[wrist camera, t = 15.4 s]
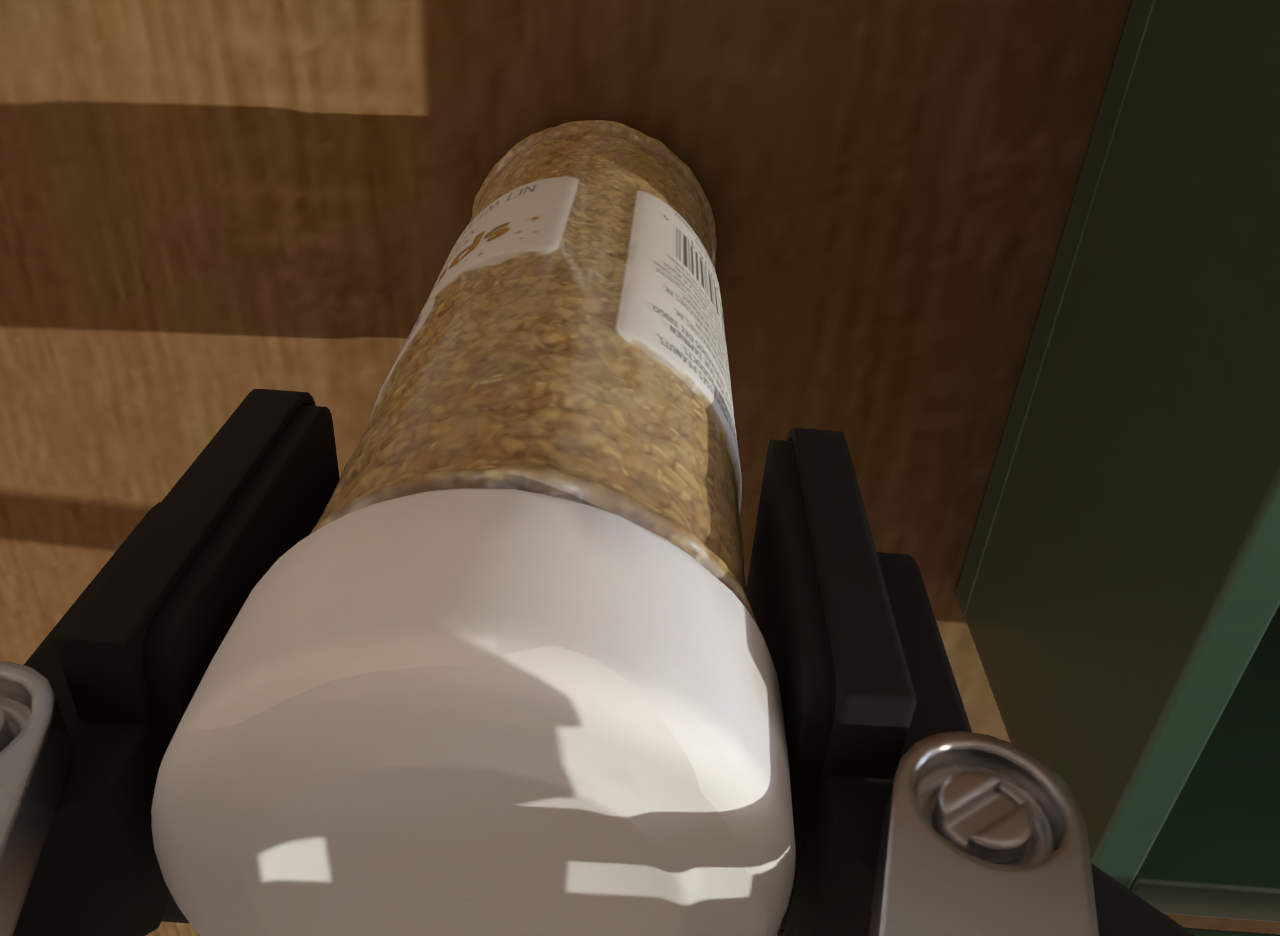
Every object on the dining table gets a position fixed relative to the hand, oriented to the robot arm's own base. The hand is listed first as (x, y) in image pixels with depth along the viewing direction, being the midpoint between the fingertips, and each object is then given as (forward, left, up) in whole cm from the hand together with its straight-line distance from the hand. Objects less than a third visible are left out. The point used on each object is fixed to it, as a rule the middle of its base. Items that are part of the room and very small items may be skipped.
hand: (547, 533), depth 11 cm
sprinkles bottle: (0, 0, -9) cm, 9 cm away
